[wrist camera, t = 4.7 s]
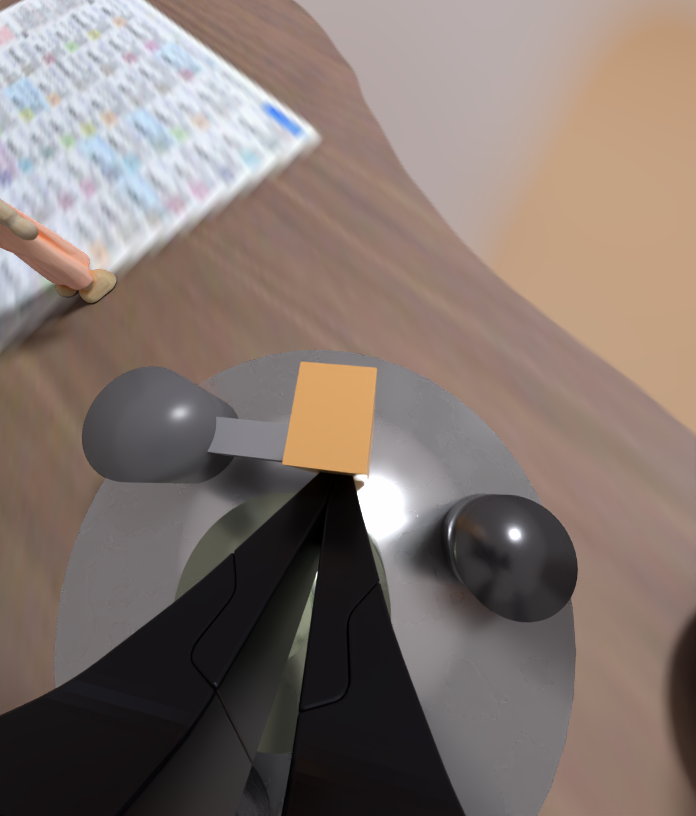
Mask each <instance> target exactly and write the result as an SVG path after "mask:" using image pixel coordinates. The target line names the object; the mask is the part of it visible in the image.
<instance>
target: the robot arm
mask: <svg viewBox="0 0 696 816" xmlns="http://www.w3.org/2000/svg"><path fill="white" fill-rule="evenodd" d="M316 574H317V579H316V586H315V593H314V600H313V607H312V615H311V622H310V629H309V636H308V643H307V651H306V658H305V665H304V672H303V679H302V687H301V694H300V701H299V708H298V712H299V714H298V717H297V723H296V730H295V736H294V743H293V749H292V756H291V762H290V768H289V774H288V780H287V786H286V791H285V797H284V802H283V808H282V813H281V816H466V814H465V812H464V810H463V808H462V806H461V803H460V801H459V799H458V797H457V795H456V792H455V790H454V788H453V786H452V783H451V781H450V778H449V776H448V774H447V771H446V769H445V766H444V764H443V761H442V759H441V756H440V754H439V751H438V749H437V746H436V743H435V741H434V738H433V736H432V733H431V730H430V728H429V725H428V722H427V720H426V717H425V714H424V712H423V709H422V706H421V704H420V701H419V698H418V696H417V693H416V690H415V688H414V685H413V682H412V680H411V677H410V674H409V672H408V669H407V666H406V664H405V661H404V658H403V655H402V653H401V650H400V647H399V644H398V641H397V638H396V635H395V632H394V629H393V626H392V623H391V619H390V616H389V612H388V609H387V605H386V602H385V598H384V594H383V590H382V586H381V584H380V583H379V582H380V579H379V575H378V572H377V568H376V564H375V560H374V556H373V552H372V548H371V544H370V540H369V536H368V532H367V529H366V525H365V521H364V517H363V513H362V509H361V505H360V501H359V497H358V493H357V490H356V486H355V482H354V478H353V476H349V475H341V474H333V473H325V472H319V473H318V474H317V475H316V476H315V477H314V478H313V479H312V480H311V481H309V482H308V483H307V484H306V485H305V486H304V487H303V488H302V489H301V490H300V491H299V492H297V493H296V494H295V495H294V496H293V497H292V498H291V499H290V500H289V501H288V502H287V503H285V504H284V505H283V506H282V507H281V508H280V509H279V510H278V511H277V512H276V513H275V514H273V515H272V516H271V517H270V518H269V519H268V520H267V521H266V522H265V523H264V524H263V525H261V526H260V527H259V528H258V529H257V530H256V531H255V532H254V533H253V534H252V535H251V536H249V537H248V538H247V539H246V540H245V541H244V542H243V543H242V544H241V545H240V546H239V547H237V548H236V549H235V550H234V553H231V554H230V555H228V556H227V557H226V558H225V559H224V560H223V561H222V562H221V563H220V564H219V565H218V566H216V567H215V568H214V569H213V570H212V571H211V572H210V573H208V574H207V575H206V576H205V577H204V578H203V579H202V580H200V581H199V582H198V583H197V584H196V585H194V586H193V587H192V588H191V589H189V590H188V591H187V592H186V593H184V594H183V595H182V596H181V597H179V598H178V599H177V600H176V601H174V602H173V603H172V604H171V605H169V606H168V607H167V608H166V609H164V610H163V611H162V612H160V613H159V614H158V615H156V616H155V617H154V618H153V619H151V620H150V621H149V622H147V623H146V624H145V625H144V626H142V627H141V628H140V629H138V630H137V631H136V632H134V633H133V634H132V635H131V636H129V637H128V638H127V639H125V640H124V641H123V642H121V643H120V644H119V645H118V646H116V647H115V648H114V649H112V650H111V651H110V652H108V653H107V654H106V655H105V656H103V657H102V658H101V659H99V660H98V661H97V662H95V663H94V664H93V665H91V666H90V667H88V668H87V669H86V670H84V671H83V672H81V673H80V674H78V675H77V676H75V677H74V678H72V679H71V680H69V681H67V682H66V683H64V684H62V685H61V686H59V687H57V688H56V689H54V690H52V691H50V692H48V693H46V694H45V695H43V696H41V697H39V698H37V699H35V700H33V701H30V702H28V703H26V704H24V705H22V706H20V707H17V708H15V709H13V710H11V711H9V712H7V713H4V714H2V715H0V816H235V814H236V811H237V808H238V805H239V802H240V799H241V796H242V793H243V791H244V788H245V785H246V782H247V779H248V776H249V773H250V770H251V767H252V762H253V761H254V758H255V755H256V752H257V749H258V746H259V743H260V740H261V737H262V734H263V731H264V728H265V725H266V722H267V719H268V716H269V713H270V710H271V707H272V704H273V701H274V698H275V695H276V693H277V690H278V687H279V684H280V681H281V678H282V675H283V672H284V669H285V666H286V663H287V660H288V657H289V654H290V651H291V648H292V645H293V642H294V639H295V636H296V633H297V630H298V627H299V624H300V621H301V618H302V616H303V613H304V610H305V607H306V604H307V601H308V598H309V595H310V592H311V589H312V586H313V583H314V580H315V577H316Z"/></svg>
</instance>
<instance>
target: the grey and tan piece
mask: <svg viewBox="0 0 696 816" xmlns="http://www.w3.org/2000/svg"><path fill="white" fill-rule="evenodd" d="M376 379H377V368H375V367H362V366H350V365H338V364H325V363H313V362H301V363H300V368H299V374H298V379H297V385H296V390H295V396H294V401H293V407H292V412H291V418H290V423H289V424H282V423H272V422H263V421H253V420H244V419H238V416H237V414H236V413H235V411H234V410H233V408H232V407H231V406H230V405H229V404H228V403H226V402H225V401H223V400H222V399H220V398H218V397H217V396H215V395H213V394H211V393H210V392H208V391H206V390H205V389H203V388H201V387H200V386H198V385H196V384H195V383H193V382H191V381H190V380H188V379H186V378H184V377H183V376H181V375H179V374H178V373H176V372H174V371H172V370H170V369H166V368H163V367H151V366H150V367H142V368H138V369H134V370H131V371H129V372H127V373H125V374H122V375H121V376H119V377H117V378H116V379H114V380H113V381H112V382H110V383H109V384H108V385H107V386H106V387H105V388H104V389H103V390H102V391H101V392H100V393H99V394H98V396H97V397H96V399H95V400H94V401H93V403H92V405H91V406H90V408H89V411H88V413H87V415H86V418H85V421H84V425H83V431H82V445H83V450H84V453H85V456H86V459H87V460H88V462H89V464H90V465H91V466H92V468H93V469H94V470H95V471H96V472H97V473H99V474H100V475H102V476H103V477H105V478H107V479H110V480H113V481H117V482H132V483H180V484H194V483H201V482H204V481H207V480H210V479H212V478H214V477H215V476H217V475H218V474H220V473H221V472H222V471H223V470H224V469H225V468H226V467H227V466H228V465H229V464H230V463H231V461H232V460H233V458H234V457H241V458H249V459H257V460H266V461H274V462H282V465H286V466H290V467H294V468H297V469H301V470H305V471H309V472H313V473H317V474H318V473H319V472H325V473H333V474H341V475H349V476H353V478H354V480H355V481H363V482H368V480H369V470H370V460H371V450H372V440H373V427H374V411H375V395H376Z"/></svg>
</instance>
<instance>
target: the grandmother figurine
mask: <svg viewBox="0 0 696 816" xmlns="http://www.w3.org/2000/svg"><path fill="white" fill-rule="evenodd" d="M0 248H2V249H5V250H7V251H10V252H12V253H14V254H15V255H16V256H18V257H19V258H20V259H21V260H23V261H24V262H25V263H26V264H28V265H29V266H30V267H31V268H33V269H34V270H35V271H37V272H38V273H39V274H41V275H42V276H43V277H45V278H46V279H47V280H49V281H51V282H52V283H54V284H55V288H56V290H57V292H58V293H59V294H60V295H61V296H65V297H70V296H72V295H74V294H76V292H77V291H78V290H79V294H80V296H81V297H82V299H83V300H85V301H86V302H88V303H94V302H97V301H98V300H99V299H101V298H102V297H103V296H104V295H105V294H107V293H108V292H109V291H110V290H112V289H113V287H114V286H115V284H116V280H117V279H116V277H115V275H114V274H112V273H110V272H109V271H106V270H103V269H95V270H92V271H91V270H90V269H89V265H90V259H89V257H88V256H87V255H86V254H85V253H83V252H82V251H80V250H79V249H78V248H76V247H75V246H73V245H72V244H71V243H69V242H67V241H66V240H64V239H63V238H61V237H60V236H59V235H57V234H56V233H54V232H53V231H51V230H50V229H48V228H46V227H45V226H43V225H41V224H40V223H38V222H36V221H35V220H33V219H32V218H30V217H29V216H27V215H26V214H24V213H22V212H21V211H19V210H18V209H16V208H14V207H12V206H11V205H9V204H7V203H6V202H4V201H3V200H1V199H0Z"/></svg>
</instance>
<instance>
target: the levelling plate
mask: <svg viewBox="0 0 696 816" xmlns="http://www.w3.org/2000/svg"><path fill="white" fill-rule="evenodd" d="M301 362H313V363H325V364H338V365H350V366H362V367H375V368H377V379H376V395H375V411H374V427H373V440H372V450H371V460H370V470H369V480H368V482H363V481H355V480H354V482H355V486H356V490H357V493H358V497H359V501H360V505H361V509H362V513H363V517H364V521H365V525H366V529H367V532H368V536H369V540H370V544H371V548H372V552H373V556H374V560H375V564H376V568H377V572H378V575H379V579H380V582H379V583H380V584H381V586H382V590H383V594H384V598H385V602H386V605H387V609H388V612H389V616H390V619H391V623H392V626H393V629H394V632H395V635H396V638H397V641H398V644H399V647H400V650H401V653H402V655H403V658H404V661H405V664H406V666H407V669H408V672H409V674H410V677H411V680H412V682H413V685H414V688H415V690H416V693H417V696H418V698H419V701H420V704H421V706H422V709H423V712H424V714H425V717H426V720H427V722H428V725H429V728H430V730H431V733H432V736H433V738H434V741H435V743H436V746H437V749H438V751H439V754H440V756H441V759H442V761H443V764H444V766H445V769H446V771H447V774H448V776H449V778H450V781H451V783H452V786H453V788H454V790H455V792H456V795H457V797H458V799H459V801H460V803H461V806H462V808H463V810H464V812H465V814H466V816H538V813H539V811H540V809H541V807H542V805H543V803H544V801H545V799H546V797H547V795H548V793H549V791H550V788H551V786H552V783H553V780H554V776H555V773H556V770H557V767H558V764H559V761H560V758H561V754H562V751H563V748H564V745H565V741H566V736H567V730H568V725H569V719H570V713H571V708H572V702H573V696H574V677H575V658H576V648H575V633H574V619H573V607H572V602H571V596H572V594H573V592H574V589H575V586H576V581H577V572H578V567H577V558H576V553H575V549H574V546H573V543H572V541H571V539H570V537H569V535H568V533H567V532H566V530H565V528H564V527H563V526H562V524H561V523H560V522H559V520H558V519H557V518H556V517H555V516H554V515H553V514H552V513H551V512H549V511H548V510H547V509H546V508H544V507H543V506H542V503H541V501H540V499H539V497H538V495H537V493H536V491H535V490H534V488H533V486H532V485H531V483H530V481H529V479H528V478H527V476H526V474H525V473H524V471H523V469H522V468H521V466H520V464H519V463H518V462H517V460H516V459H515V458H514V456H513V455H512V454H511V452H510V451H509V450H508V449H507V447H506V446H505V445H504V443H503V442H502V441H501V439H500V438H499V437H498V436H497V435H496V434H495V433H494V432H493V431H492V430H491V429H490V428H489V426H488V425H487V424H486V423H485V422H484V421H483V420H482V419H481V418H480V417H479V416H478V415H477V414H476V413H475V412H473V411H472V410H471V409H470V408H469V407H467V406H466V405H465V404H464V403H462V402H461V401H460V400H459V399H458V398H456V397H455V396H454V395H453V394H451V393H449V392H448V391H446V390H445V389H443V388H442V387H440V386H439V385H437V384H435V383H434V382H432V381H431V380H429V379H427V378H425V377H423V376H421V375H419V374H417V373H415V372H413V371H411V370H409V369H407V368H405V367H402V366H399V365H397V364H394V363H391V362H388V361H385V360H382V359H379V358H376V357H371V356H366V355H361V354H357V353H352V352H343V351H331V350H304V351H292V352H286V353H279V354H273V355H269V356H265V357H261V358H258V359H254V360H250V361H247V362H244V363H242V364H239V365H237V366H234V367H232V368H229V369H227V370H224V371H222V372H220V373H218V374H216V375H214V376H212V377H211V378H209V379H207V380H205V381H203V382H201V383H199V384H198V386H200V387H201V388H203V389H205V390H206V391H208V392H210V393H211V394H213V395H215V396H217V397H218V398H220V399H222V400H223V401H225V402H226V403H228V404H229V405H230V406H231V407H232V408H233V410H234V411H235V413H236V414H237V416H238V419H244V420H253V421H263V422H272V423H282V424H289V423H290V418H291V412H292V407H293V401H294V396H295V390H296V385H297V379H298V374H299V368H300V363H301ZM316 475H317V473H313V472H309V471H305V470H301V469H297V468H294V467H290V466H286V465H282V462H274V461H266V460H257V459H249V458H241V457H234V458H233V460H232V461H231V463H230V464H229V465H228V466H227V467H226V468H225V469H224V470H223V471H222V472H221V473H220V474H218V475H217V476H215V477H214V478H212V479H210V480H207V481H204V482H201V483H194V484H180V483H132V482H117V481H113V480H110V479H107V478H105V480H104V482H103V483H102V485H101V487H100V488H99V490H98V492H97V493H96V495H95V497H94V499H93V501H92V504H91V506H90V508H89V510H88V512H87V514H86V516H85V518H84V520H83V522H82V525H81V527H80V530H79V533H78V536H77V538H76V541H75V544H74V547H73V550H72V552H71V555H70V558H69V562H68V566H67V570H66V574H65V578H64V582H63V586H62V590H61V596H60V603H59V610H58V617H57V624H56V637H55V662H54V671H55V685H56V688H57V687H59V686H61V685H62V684H64V683H66V682H67V681H69V680H71V679H72V678H74V677H75V676H77V675H78V674H80V673H81V672H83V671H84V670H86V669H87V668H88V667H90V666H91V665H93V664H94V663H95V662H97V661H98V660H99V659H101V658H102V657H103V656H105V655H106V654H107V653H108V652H110V651H111V650H112V649H114V648H115V647H116V646H118V645H119V644H120V643H121V642H123V641H124V640H125V639H127V638H128V637H129V636H131V635H132V634H133V633H134V632H136V631H137V630H138V629H140V628H141V627H142V626H144V625H145V624H146V623H147V622H149V621H150V620H151V619H153V618H154V617H155V616H156V615H158V614H159V613H160V612H162V611H163V610H164V609H166V608H167V607H168V606H169V605H171V604H172V603H173V602H174V601H176V600H177V599H178V598H179V597H181V596H182V595H183V594H184V593H186V592H187V591H188V590H189V589H191V588H192V587H193V586H194V585H196V584H197V583H198V582H199V581H200V580H202V579H203V578H204V577H205V576H206V575H207V574H208V573H210V572H211V571H212V570H213V569H214V568H215V567H216V566H218V565H219V564H220V563H221V562H222V561H223V560H224V559H225V558H226V557H227V556H228V555H230V554H231V553H234V550H235V549H236V548H237V547H239V546H240V545H241V544H242V543H243V542H244V541H245V540H246V539H247V538H248V537H249V536H251V535H252V534H253V533H254V532H255V531H256V530H257V529H258V528H259V527H260V526H261V525H263V524H264V523H265V522H266V521H267V520H268V519H269V518H270V517H271V516H272V515H273V514H275V513H276V512H277V511H278V510H279V509H280V508H281V507H282V506H283V505H284V504H285V503H287V502H288V501H289V500H290V499H291V498H292V497H293V496H294V495H295V494H296V493H297V492H299V491H300V490H301V489H302V488H303V487H304V486H305V485H306V484H307V483H308V482H309V481H311V480H312V479H313V478H314V477H315V476H316ZM316 579H317V574H316V577H315V580H314V583H313V586H312V589H311V592H310V595H309V598H308V601H307V604H306V607H305V610H304V613H303V616H302V618H301V621H300V624H299V627H298V630H297V633H296V636H295V639H294V642H293V645H292V648H291V651H290V654H289V657H288V660H287V663H286V666H285V669H284V672H283V675H282V678H281V681H280V684H279V687H278V690H277V693H276V695H275V698H274V701H273V704H272V707H271V710H270V713H269V716H268V719H267V722H266V725H265V728H264V731H263V734H262V737H261V740H260V743H259V746H258V749H257V752H256V755H255V758H254V761H253V762H252V767H251V770H250V773H249V776H248V779H247V782H246V785H245V788H244V791H243V793H242V796H241V799H240V802H239V805H238V808H237V811H236V814H235V816H281V813H282V808H283V802H284V797H285V791H286V786H287V780H288V774H289V768H290V762H291V756H292V749H293V743H294V736H295V730H296V723H297V717H298V714H299V712H298V708H299V701H300V694H301V687H302V679H303V672H304V665H305V658H306V651H307V643H308V636H309V629H310V622H311V615H312V607H313V600H314V593H315V586H316Z"/></svg>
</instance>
